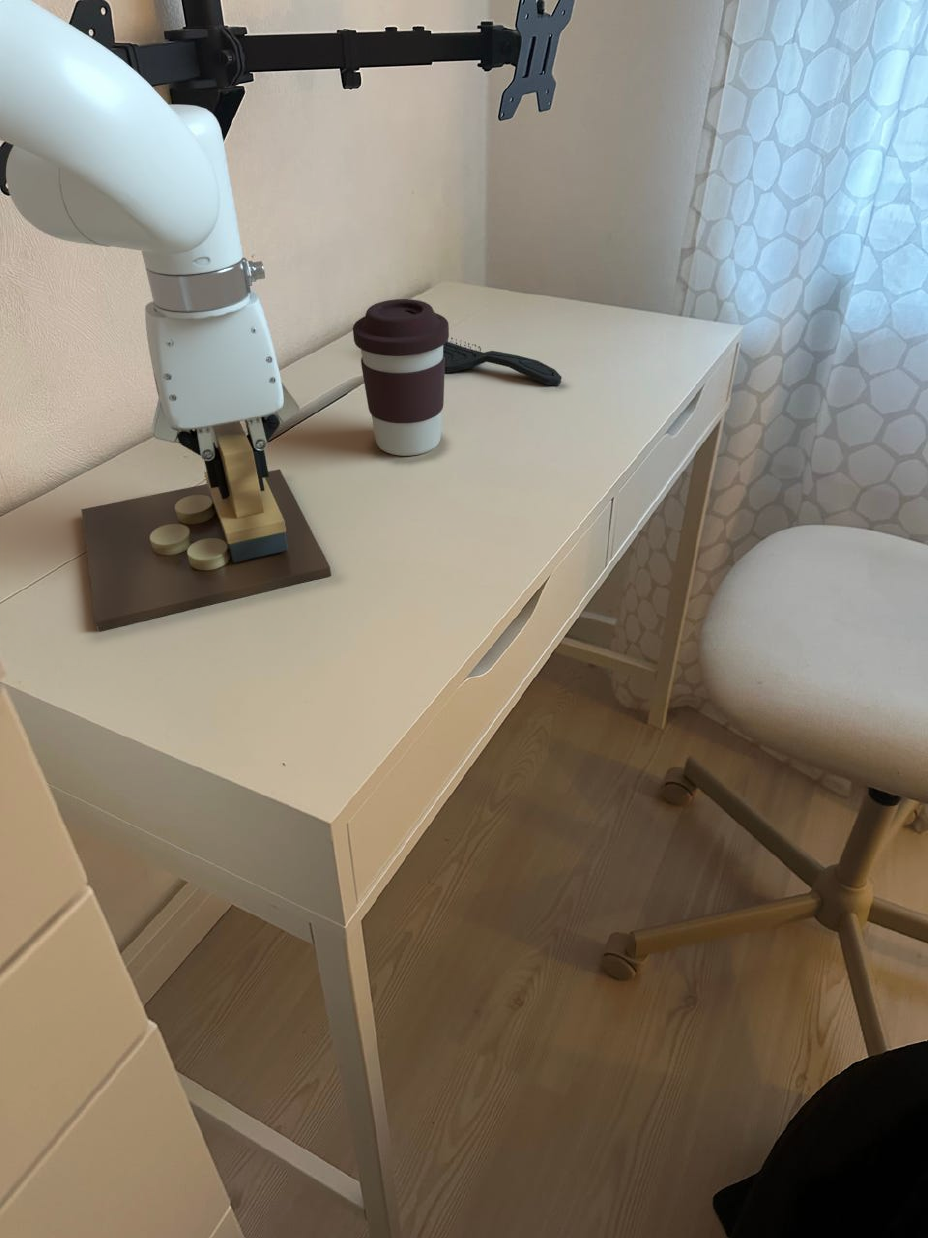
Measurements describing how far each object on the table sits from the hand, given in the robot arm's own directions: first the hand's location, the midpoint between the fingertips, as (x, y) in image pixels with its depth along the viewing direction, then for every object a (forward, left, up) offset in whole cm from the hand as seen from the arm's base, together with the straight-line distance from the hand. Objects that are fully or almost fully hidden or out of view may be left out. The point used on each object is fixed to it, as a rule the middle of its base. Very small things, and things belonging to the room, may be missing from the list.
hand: (240, 486), depth 82 cm
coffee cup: (+20, +12, -6) cm, 25 cm away
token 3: (-4, -4, -4) cm, 7 cm away
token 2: (-4, +5, -4) cm, 8 cm away
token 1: (-7, 0, -4) cm, 8 cm away
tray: (-5, 0, -5) cm, 7 cm away
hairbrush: (+35, +29, -6) cm, 46 cm away
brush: (0, 0, -4) cm, 4 cm away
